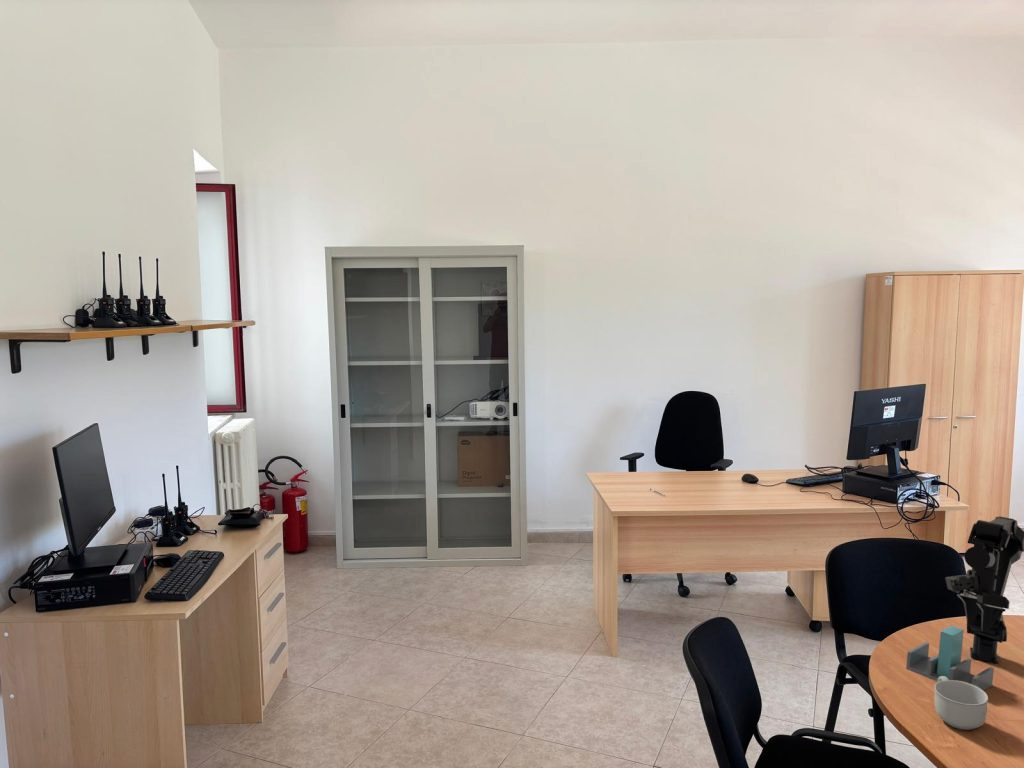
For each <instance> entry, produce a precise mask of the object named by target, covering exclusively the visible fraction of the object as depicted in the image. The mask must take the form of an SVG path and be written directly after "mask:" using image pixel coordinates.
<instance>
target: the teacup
mask: <svg viewBox="0 0 1024 768" xmlns="http://www.w3.org/2000/svg"><path fill="white" fill-rule="evenodd" d="M933 688H934V710H935V713H937V716H939V718H940V719H941V720H943V722H945V723H946V724H947V725H948V726H950V727H952V728H956V729H957V730H958V729H959V730H963V731H964V730H965V731H970V730H975V729H977V728H980V727H981V726H983V725H984V724H985V722H986V719H987V715H988V714H987V713H988V712H987V711H988V701H989V696H988V694H987V693H986V692H985V690H984V691H983V690H982V689H980V688H978V687H977V686H974V685H972V684H969V683H966V682H962V681H956V680H949V679H948V678H947V677H945V676H940V677H939V678H938V681H936V683H934V687H933Z"/></svg>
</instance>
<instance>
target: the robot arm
mask: <svg viewBox="0 0 1024 768" xmlns="http://www.w3.org/2000/svg"><path fill="white" fill-rule="evenodd" d="M967 544H970V545H973V546H971V547H968V549H966V551H965V553H964V557H963V558H964V561H965V563H966V564H967V565H968V566H969V567H970V569H968V570H967V571H966V574H961V575H958V574H957V575H951V576H946V577H945V578H944V580H945V583H946V587H947V590H950V591H952V592H954V593H957V594H956V596H957V597H958V598H959V599H960V600H961V602H963V607H964V611H965V618H966V633H967V634H970V635H973V639H972V647H969V653H970V654H969V655H970V659H971V658H972V659H975V660H980V661H983V662H990V663H992V664H999V663H1000V661H999V657H998V644H999V643H1000V644H1002V643H1004V642H1007V640H1008V630H1007V626H1006V623H1005V620H1004V615H1003V613H1004V612H1006V610H1009V608H1010V604H1011V603H1010V600H1009V599H1008V598H1007V597H1006V596H1004V593H1005V591H1006V586H1007V583H1008V579H1009V575H1010V571H1011V567H1012V565H1013V564H1015V563H1016V562H1018V561H1019V560H1021V558H1022V554H1023V553H1024V530H1023V529H1022V528H1021V527H1020V526H1019V525H1018V520H1015V519H1014V518H1009V517H1004V516H1001V515H999V516H995V518H994V519H993V520H991V521H987V520H981V519H978V520H976V522H975V523H973V525H972V527H971V530H970V534H969V536H968V539H967Z"/></svg>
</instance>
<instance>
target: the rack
mask: <svg viewBox="0 0 1024 768" xmlns="http://www.w3.org/2000/svg"><path fill="white" fill-rule="evenodd" d="M929 650H930V642H927V641H925V642H924V643H921V644H920V645H917V646H916V647H913V648H912V649H910V650H908V651H907V655H906V668H905V669H907V670H909V671H910V672H914V673H916V674H918V675H921V676H924V677H926V678H928V679H930V680H933V681H936V682H937V681H938V678H939V677H940V676H939V675H937V668H938V657H939V653H938V654H935V656H932V657H930V656H929V653H930V652H929ZM971 666H972V659H971V657H967V658H965V659H963V660H961V662H960V663H958V664H957V665H955V666H953V667H951V668H950V673H949V680H956V681H962V682H966V683H969V684H972V685H974V686H977V687H978V688H980V689H982V690H983V691H984V692H985V691H986V690H987V689H989V688H990V687H992V686H993V680H994V673H995V672H994V669H995V667H993V666H989V667H987V668H986V669H984V670H982V671H980V672H979V673H978V674H976V675H975V674H972V673H971V668H972V667H971Z"/></svg>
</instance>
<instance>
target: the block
mask: <svg viewBox="0 0 1024 768" xmlns="http://www.w3.org/2000/svg"><path fill="white" fill-rule="evenodd" d="M964 632H965V631H964V629H962V628H960V627H957V626H955V625H950V626H949V627H946V628H944V629H942V630H940V634H939V635H940V636H939V646H938V648H939V649H938V654H939V657H938V668H937V675H939V676H945V677H947V678H948V679H949V673H950V668H951V667H953V666H955V665H957V664H958V663H960V662H962V653H963V652H962V651H963V643H964V642H963V641H964Z"/></svg>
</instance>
